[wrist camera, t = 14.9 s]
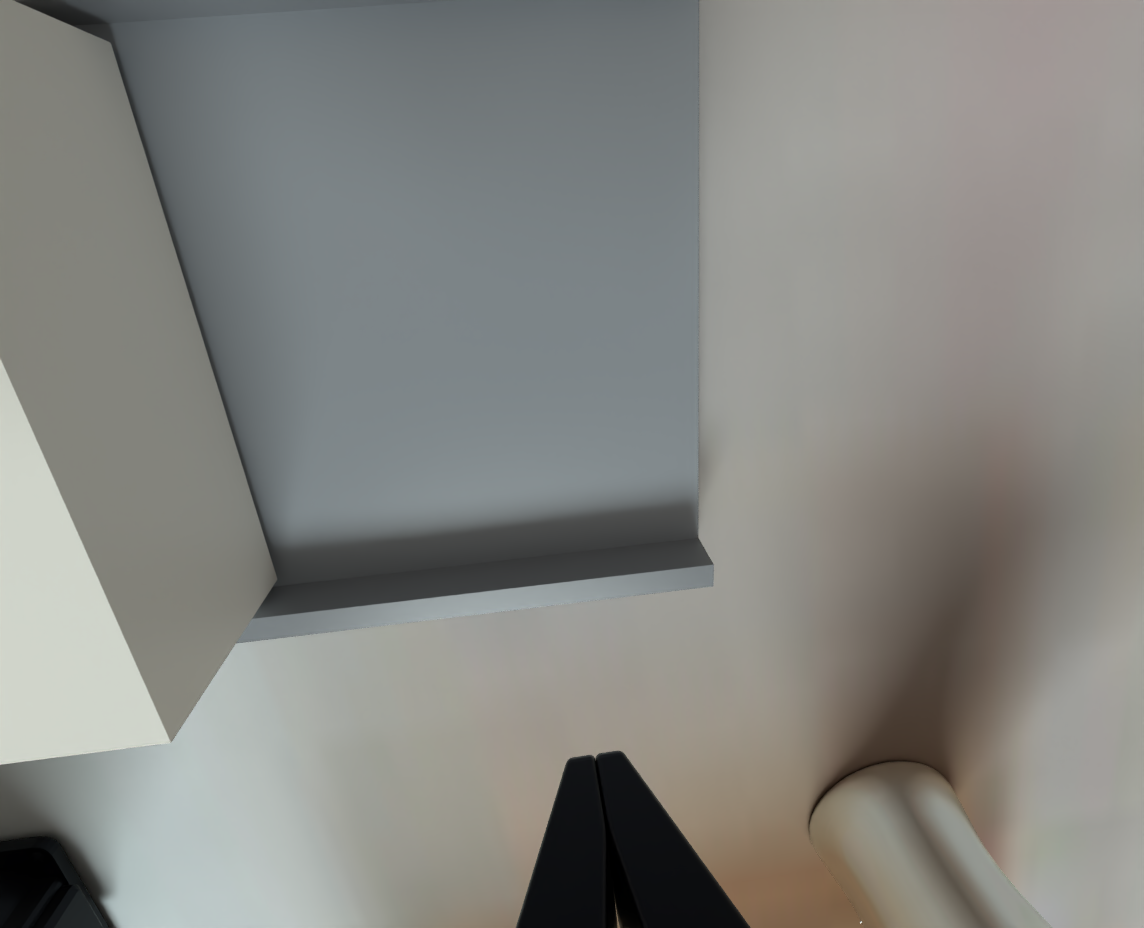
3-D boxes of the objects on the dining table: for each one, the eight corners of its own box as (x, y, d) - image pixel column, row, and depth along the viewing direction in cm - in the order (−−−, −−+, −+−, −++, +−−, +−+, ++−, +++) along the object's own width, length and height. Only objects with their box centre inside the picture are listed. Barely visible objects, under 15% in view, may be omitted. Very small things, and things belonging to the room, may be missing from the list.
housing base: (-26, 638, 18) (-129, 718, 15) (-384, -3, 12) (-668, -73, 9) (687, 555, 20) (718, 615, 17) (683, -69, 13) (732, -149, 10)
